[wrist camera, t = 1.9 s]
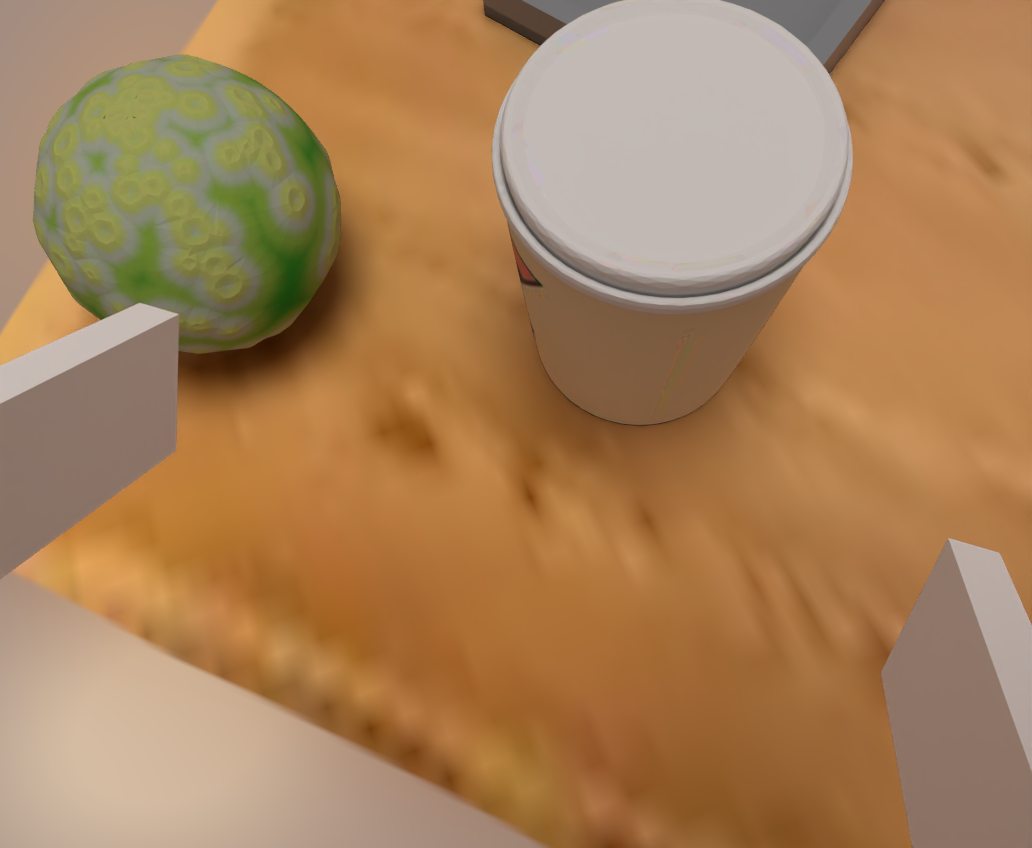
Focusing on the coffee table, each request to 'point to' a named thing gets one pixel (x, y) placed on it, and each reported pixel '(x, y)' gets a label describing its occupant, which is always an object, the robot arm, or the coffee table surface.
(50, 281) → the coffee table surface
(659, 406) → the coffee cup
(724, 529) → the coffee table surface
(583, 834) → the coffee table surface
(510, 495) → the coffee table surface
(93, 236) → the decorative ball
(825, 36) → the tray
